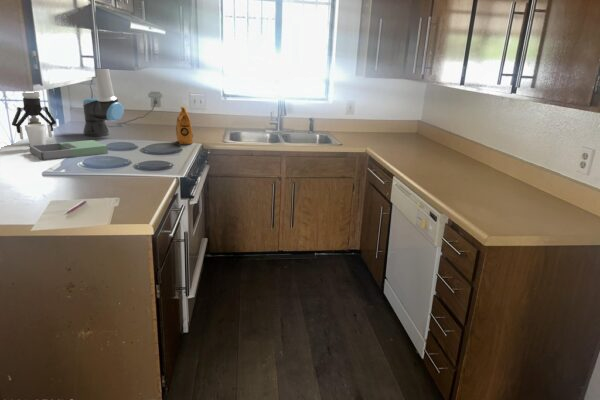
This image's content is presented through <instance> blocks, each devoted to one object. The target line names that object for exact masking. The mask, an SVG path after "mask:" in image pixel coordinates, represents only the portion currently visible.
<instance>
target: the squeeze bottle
mask: <svg viewBox="0 0 600 400" xmlns="http://www.w3.org/2000/svg"><path fill="white" fill-rule="evenodd" d="M28 121H29V122H28V123H27V125H29V124H42V122H41V121H40V119H39V118H38V117H37V116H35V115H34V116H30V118H28Z"/></svg>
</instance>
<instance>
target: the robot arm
mask: <svg viewBox="0 0 600 400" xmlns="http://www.w3.org/2000/svg"><path fill="white" fill-rule="evenodd" d="M94 78H95V77H94ZM95 83H96V89H97V93H98V97H97V98H85V99H83V104H82V107H83V115H84V127H83V130H82V133H83V136H87V137H104V136H109V135H110V131H109V128H108V126H107V123H106V121H110V122H117V121H120V120H121V119H122V117H123V116H124V111H125V108H124V106H123V104H121V102H119V101H118V97H117V96H115V93H114V87H113V83H112V78H111V74H110V68H109V69H97V77H96V78H95ZM21 96H22V97H23V98H22V101H23V102H22V103H23V107H20V106H17V107H16V113H15V115H14V118H13V120H12V122H11V125H12V126H13V127H15V128H16V132H17V134H19V139H20V140H24V136H23V134H24V133H23V126H22V124H23V123H24V122H25V120H26V119H27V118H28V117H31V116H34V115H35V116H36V117H38V116H39V117H40V118H41V119H43V121H45V122H46V123H47V132H48V137H49V138H53V131H54V125H56V124H57V121H56V120H55V118H54V117H53V116H52V114H51V112H50V111H49V107H47V106H41V99H40V91H39V92H34V93H22V92H21ZM23 111H24V114H23V115H22V117H21V118H20V115H21V113H22V112H23ZM42 111H43V112H45V114H46V115H47V117H48V118H47V117H46V116H45V115H44V114H43V113H42Z"/></svg>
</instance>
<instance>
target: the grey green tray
mask: <svg viewBox="0 0 600 400" xmlns="http://www.w3.org/2000/svg"><path fill="white" fill-rule="evenodd" d="M28 147H29V152H30V155H33V156H34V157H36V158H37V159H39V160H41V161H48V160H49V161H51V160H57V159H58V160H59V159H67V158H68V159H69V158H76V157H85V156H92V155H95V156H96V155H103V154H108V153H109V150H108V145H106V144H104V143H101V142H99V141H97V140H95V139H90V140H89V139H88V140H79V141H78V140H77V141H66V142H57V143H47V144H43V145H32V146H30V145H29V146H28Z"/></svg>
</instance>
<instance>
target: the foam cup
mask: <svg viewBox="0 0 600 400" xmlns="http://www.w3.org/2000/svg"><path fill="white" fill-rule="evenodd" d="M24 129H25V132H26V135H27V140H28V142H29V146H32V145H43V144H46V141H47V140H46V139H47V137H46V136H47V135H46V134H47V133H46V130H47V126H46V124H45V123H44V124H43V123H41V124H29V125H28V124H25V125H24Z"/></svg>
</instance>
